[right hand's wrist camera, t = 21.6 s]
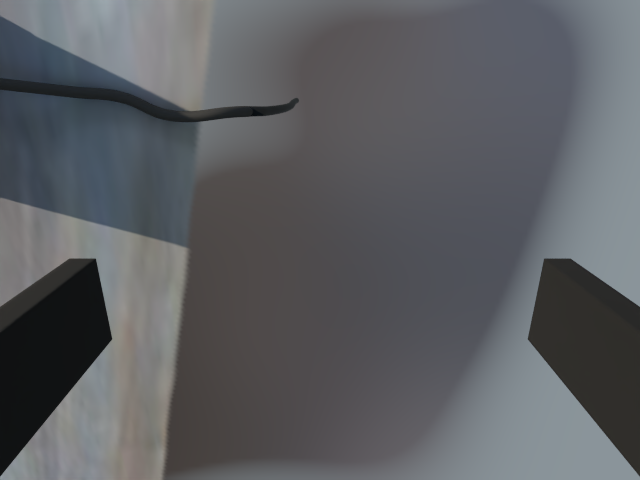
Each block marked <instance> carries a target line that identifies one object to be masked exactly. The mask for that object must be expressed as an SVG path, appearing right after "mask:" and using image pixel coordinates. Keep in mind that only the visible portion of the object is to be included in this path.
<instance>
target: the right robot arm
mask: <svg viewBox="0 0 640 480" xmlns="http://www.w3.org/2000/svg"><path fill="white" fill-rule="evenodd" d="M0 90H9V91H18V92H27V93H36V94H45V95H55V96H64V97H73V98H85V99H102V100H110V101H116V102H120V103H124V104H127V105H130V106H132V107H135V108H137V109H139V110H141V111H143V112H145V113H147V114H149V115H151V116H154V117H157V118H160V119H163V120H168V121H175V122H200V121H208V120H215V119H223V118H233V117H252V116H269V115H275V114H280V113H284V112H287V111H289V110H291V109H293V108H294V106H295V105H296V104H297V103H298V102H299V99H298V98H294V99H293V100H291V101H290V102H289V103H287V104H283V105H276V106H236V107H223V108H215V109H208V110H200V111H172V110H166V109H162V108H159V107H157V106H154V105H152V104H150V103H148V102H146V101H144V100H142V99H140V98H138V97H135V96H133V95H130V94H127V93H124V92H120V91H115V90H110V89H101V88H84V87H72V86H63V85H54V84H46V83H37V82H28V81H19V80H11V79H2V78H0ZM111 340H112V336H111V331H110V326H109V321H108V316H107V312H106V307H105V302H104V297H103V292H102V287H101V282H100V277H99V272H98V267H97V262H96V259H68V260H67V261H66V262H64V263H63V264H61V265H60V266H58V267H57V268H55V269H54V270H53V271H51V272H50V273H48V274H47V275H45V276H44V277H43V278H41V279H40V280H38V281H37V282H35V283H34V284H32V285H31V286H30V287H28V288H27V289H25V290H24V291H22V292H21V293H20V294H18V295H17V296H15V297H14V298H12V299H11V300H9V301H8V302H7V303H5V304H4V305H2V306H1V307H0V476H1V475H2V474H3V472H4V471H5V470H6V469H7V467H8V466H9V465H10V464H11V462H12V461H13V460H14V459H15V458H16V456H17V455H18V454H19V453H20V451H21V450H22V449H23V448H24V447H25V445H26V444H27V443H28V442H29V440H30V439H31V438H32V437H33V436H34V434H35V433H36V432H37V431H38V429H39V428H40V427H41V426H42V424H43V423H44V422H45V421H46V420H47V418H48V417H49V416H50V415H51V413H52V412H53V411H54V410H55V409H56V407H57V406H58V405H59V404H60V402H61V401H62V400H63V399H64V398H65V396H66V395H67V394H68V393H69V391H70V390H71V389H72V388H73V387H74V385H75V384H76V383H77V382H78V380H79V379H80V378H81V377H82V375H83V374H84V373H85V372H86V371H87V369H88V368H89V367H90V366H91V364H92V363H93V362H94V361H95V360H96V358H97V357H98V356H99V355H100V353H101V352H102V351H103V350H104V349H105V347H106V346H107V345H108V344H109V342H110V341H111ZM528 340H529V341H530V342H531V344H532V345H533V346H534V347H535V348H536V350H537V351H538V352H539V353H540V355H541V356H542V357H543V358H544V360H545V361H546V362H547V363H548V364H549V366H550V367H551V368H552V369H553V371H554V372H555V373H556V374H557V375H558V377H559V378H560V379H561V380H562V382H563V383H564V384H565V385H566V387H567V388H568V389H569V390H570V391H571V393H572V394H573V395H574V396H575V397H576V399H577V400H578V401H579V402H580V404H581V405H582V406H583V407H584V409H585V410H586V411H587V412H588V413H589V415H590V416H591V417H592V418H593V420H594V421H595V422H596V423H597V424H598V426H599V427H600V428H601V429H602V431H603V432H604V433H605V434H606V436H607V437H608V438H609V439H610V440H611V442H612V443H613V444H614V445H615V447H616V448H617V449H618V450H619V451H620V453H621V454H622V455H623V456H624V458H625V459H626V460H627V461H628V462H629V464H630V465H631V466H632V467H633V469H634V470H635V471H636V472H637V473H638V475H639V476H640V307H639V306H638V305H636V304H635V303H633V302H632V301H630V300H629V299H628V298H626V297H625V296H623V295H622V294H620V293H619V292H618V291H616V290H615V289H613V288H612V287H610V286H609V285H607V284H606V283H605V282H603V281H602V280H600V279H599V278H597V277H596V276H595V275H593V274H592V273H590V272H589V271H587V270H586V269H584V268H583V267H582V266H580V265H579V264H577V263H576V262H574V261H573V260H572V259H544V263H543V267H542V272H541V277H540V282H539V287H538V292H537V297H536V302H535V307H534V312H533V316H532V321H531V327H530V331H529V336H528Z"/></svg>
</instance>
